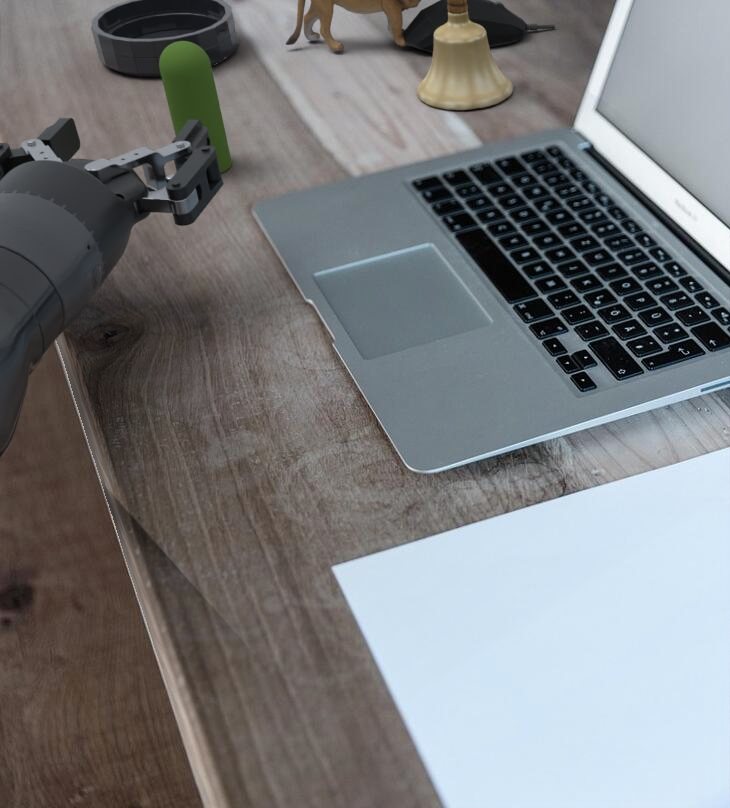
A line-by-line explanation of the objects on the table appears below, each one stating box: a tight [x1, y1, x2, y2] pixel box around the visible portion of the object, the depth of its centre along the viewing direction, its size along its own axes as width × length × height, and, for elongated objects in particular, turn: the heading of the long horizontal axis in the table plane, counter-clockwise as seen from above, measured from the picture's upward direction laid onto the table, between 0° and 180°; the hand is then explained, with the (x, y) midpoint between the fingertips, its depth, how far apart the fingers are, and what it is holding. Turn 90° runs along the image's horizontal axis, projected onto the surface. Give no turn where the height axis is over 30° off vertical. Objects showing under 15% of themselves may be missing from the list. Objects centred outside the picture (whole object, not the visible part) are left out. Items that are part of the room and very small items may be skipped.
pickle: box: [159, 41, 233, 174], centre depth 90 cm, size 4×4×10 cm
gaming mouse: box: [403, 0, 556, 54], centre depth 114 cm, size 6×15×4 cm, turn 111°
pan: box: [90, 0, 239, 78], centre depth 111 cm, size 12×12×4 cm
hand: (135, 131), depth 80 cm, fingers open, 8 cm apart
